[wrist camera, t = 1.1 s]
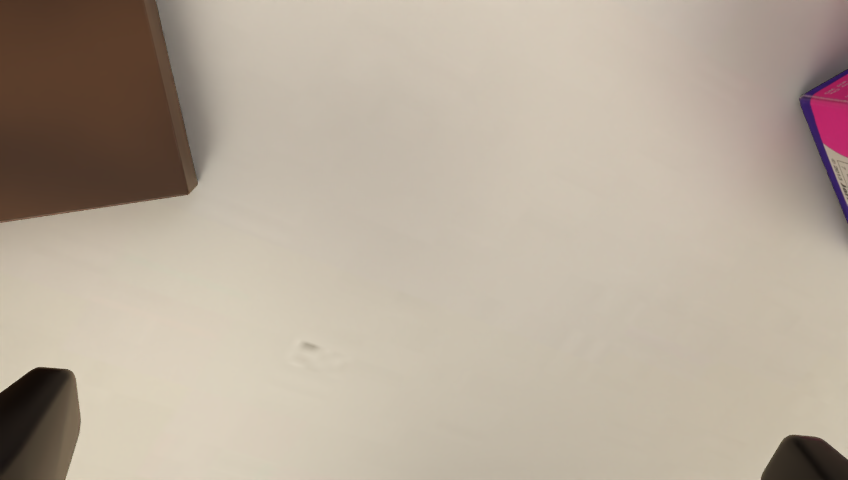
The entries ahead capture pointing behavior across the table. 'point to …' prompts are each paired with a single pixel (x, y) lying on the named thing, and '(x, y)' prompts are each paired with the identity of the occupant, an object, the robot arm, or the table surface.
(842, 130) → the supplement box
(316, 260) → the table surface
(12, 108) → the wooden block stand
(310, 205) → the table surface
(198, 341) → the table surface
